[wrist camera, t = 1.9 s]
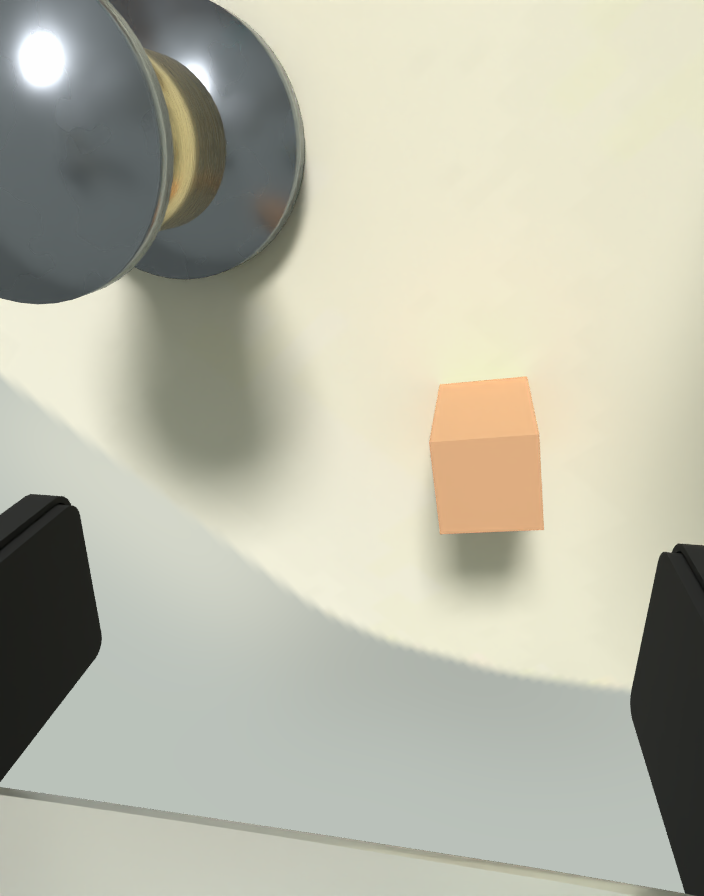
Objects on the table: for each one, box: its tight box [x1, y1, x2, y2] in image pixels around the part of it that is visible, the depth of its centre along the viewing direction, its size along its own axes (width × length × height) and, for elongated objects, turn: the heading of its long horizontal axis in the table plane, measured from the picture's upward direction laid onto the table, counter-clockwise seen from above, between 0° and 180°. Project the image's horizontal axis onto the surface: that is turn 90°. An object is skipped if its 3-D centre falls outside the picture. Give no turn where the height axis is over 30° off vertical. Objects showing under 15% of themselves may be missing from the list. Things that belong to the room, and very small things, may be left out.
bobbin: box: [0, 0, 305, 304], centre depth 23 cm, size 11×11×12 cm
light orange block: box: [429, 377, 544, 534], centre depth 28 cm, size 4×4×7 cm
